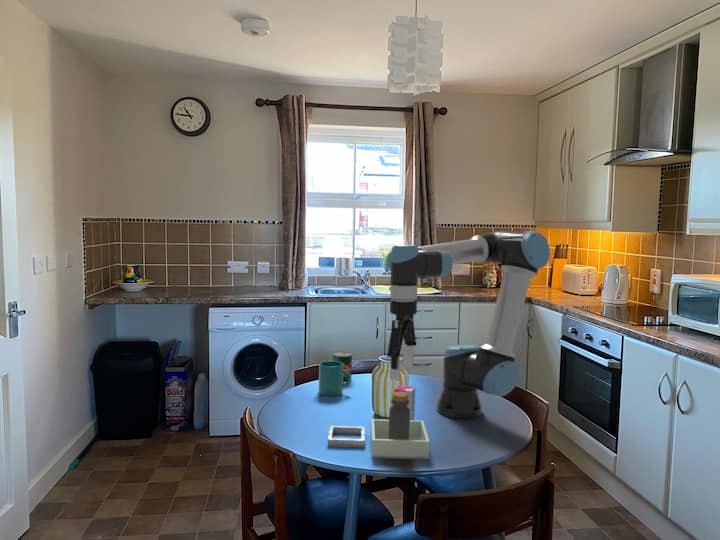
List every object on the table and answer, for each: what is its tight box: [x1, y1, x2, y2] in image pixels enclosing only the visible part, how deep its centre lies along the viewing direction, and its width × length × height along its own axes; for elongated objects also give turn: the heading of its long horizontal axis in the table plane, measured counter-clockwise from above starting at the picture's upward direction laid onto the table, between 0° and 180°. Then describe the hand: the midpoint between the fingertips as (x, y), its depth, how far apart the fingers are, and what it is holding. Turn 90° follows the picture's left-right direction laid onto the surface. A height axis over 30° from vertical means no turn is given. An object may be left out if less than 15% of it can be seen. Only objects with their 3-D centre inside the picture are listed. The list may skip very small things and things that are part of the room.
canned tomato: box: [332, 350, 353, 382], centre depth 216 cm, size 8×8×11 cm
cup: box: [318, 360, 352, 397], centre depth 199 cm, size 9×12×11 cm
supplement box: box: [393, 385, 416, 420], centre depth 171 cm, size 6×6×12 cm
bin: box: [370, 418, 430, 460], centre depth 152 cm, size 16×16×5 cm
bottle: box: [388, 391, 410, 440], centre depth 152 cm, size 6×6×15 cm
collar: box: [327, 425, 366, 448], centre depth 156 cm, size 10×10×2 cm
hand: (401, 373), depth 151 cm, fingers open, 13 cm apart
